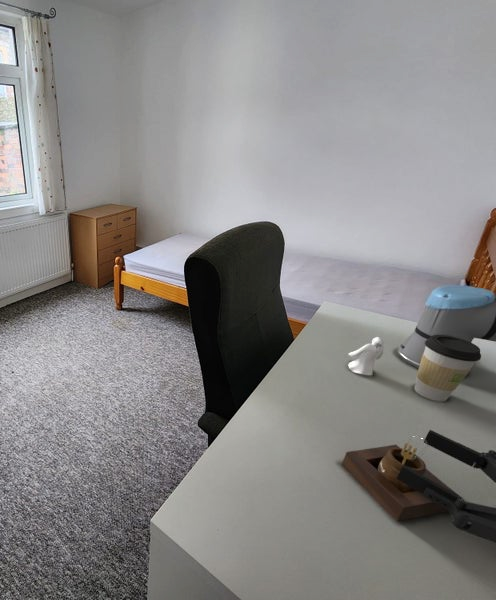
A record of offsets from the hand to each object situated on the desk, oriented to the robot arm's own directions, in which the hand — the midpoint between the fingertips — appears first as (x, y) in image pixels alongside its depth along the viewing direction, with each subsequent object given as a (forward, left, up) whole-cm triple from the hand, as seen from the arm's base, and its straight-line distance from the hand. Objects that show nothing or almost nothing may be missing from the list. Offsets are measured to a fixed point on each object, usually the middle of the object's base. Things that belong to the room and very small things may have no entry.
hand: (413, 452), depth 59 cm
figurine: (-26, -33, -9) cm, 43 cm away
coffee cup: (-35, -21, -9) cm, 42 cm away
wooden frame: (0, 0, -9) cm, 9 cm away
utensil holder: (0, 0, -9) cm, 9 cm away
